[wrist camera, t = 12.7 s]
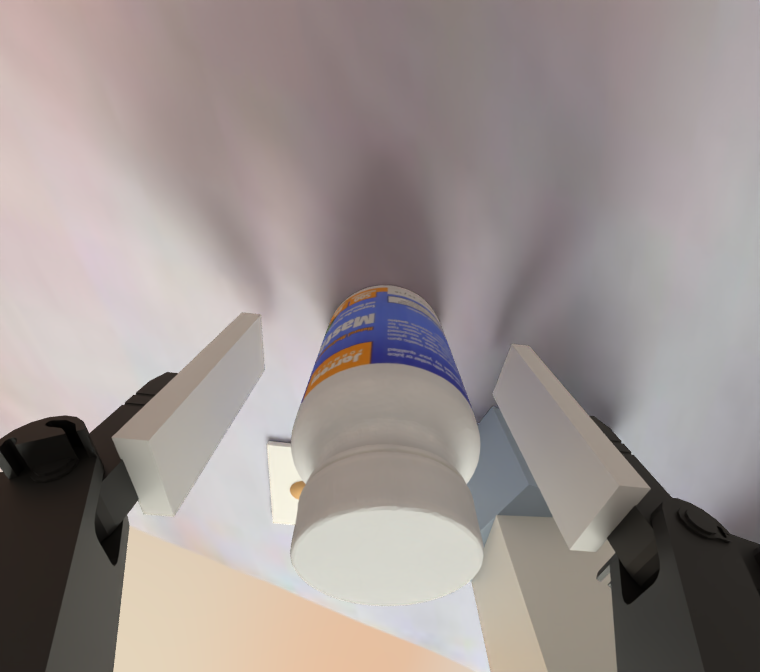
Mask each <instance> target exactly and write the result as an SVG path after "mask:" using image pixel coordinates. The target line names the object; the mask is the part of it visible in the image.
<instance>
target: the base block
mask: <svg viewBox="0 0 760 672" xmlns="http://www.w3.org/2000/svg"><path fill="white" fill-rule="evenodd" d="M477 426H478V429H479V433H480V455H479V461H478V464H477V467H476V469H475V471H474V474H473V475H472V477H471V479H470V480H469V482H468V483H467V484H466V485H467V486H468V488H469V489H470V492H471V494H472V497H473V500H474V506H475V511H476V515H477V519H478V524H479V528H480V532H481V537H482V541H483V545H484V546H485V544H486V541H487V538H488V536H489V533H490V530H491V528H492V525H493V522H494V520H495V517H496V515H509V516H534V517H553V516H552V514H551V512H550V510H549V508H548V506H547V504H546V502H545V500H544V497H543V495H542V493H541V491H540V489H539V487H538V485H537V483H536V481H535V479H534V477H533V475H532V473H531V471H530V469H529V467H528V465H527V463H526V461H525V459H524V457H523V455H522V453H521V451H520V449H519V447H518V445H517V443H516V441H515V439H514V437H513V435H512V433H511V431H510V429H509V427H508V425H507V423H506V421H505V419H504V417H503V415H502V413H501V411H500V409H499V408H496V407H493V406H492V407H491V409H490V410H489V411H488V412H487V414H486V415H485V416H484V417H483V419H482V420H481V421H480V422H479V424H478V425H477ZM471 581H472V580H470V582H471Z"/></svg>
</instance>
